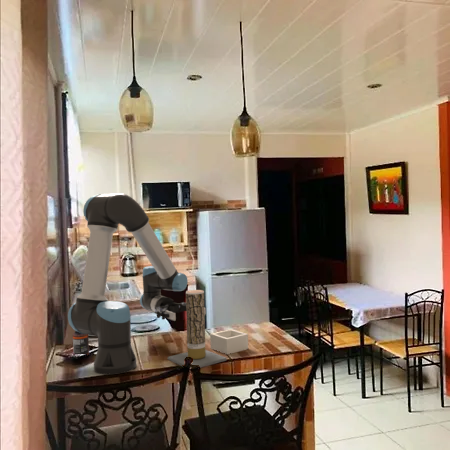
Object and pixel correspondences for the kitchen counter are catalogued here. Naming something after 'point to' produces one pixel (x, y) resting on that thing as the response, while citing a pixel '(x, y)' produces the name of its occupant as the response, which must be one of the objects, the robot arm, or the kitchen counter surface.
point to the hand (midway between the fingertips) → (190, 314)
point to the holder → (229, 341)
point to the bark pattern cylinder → (195, 324)
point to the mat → (207, 360)
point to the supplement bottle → (80, 343)
